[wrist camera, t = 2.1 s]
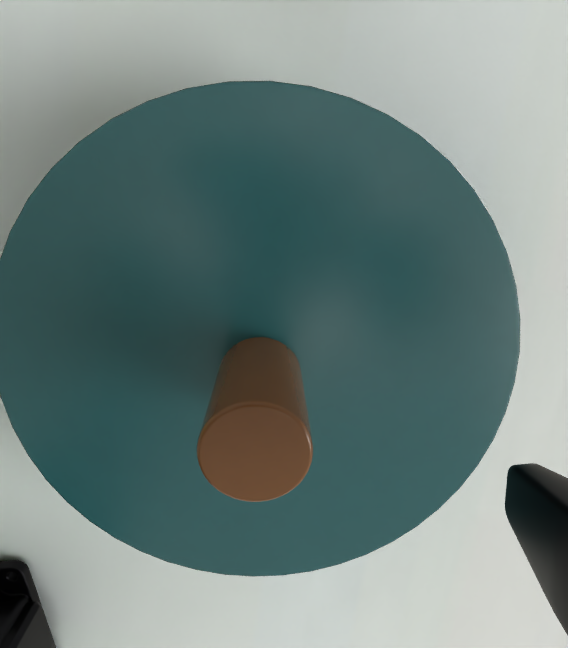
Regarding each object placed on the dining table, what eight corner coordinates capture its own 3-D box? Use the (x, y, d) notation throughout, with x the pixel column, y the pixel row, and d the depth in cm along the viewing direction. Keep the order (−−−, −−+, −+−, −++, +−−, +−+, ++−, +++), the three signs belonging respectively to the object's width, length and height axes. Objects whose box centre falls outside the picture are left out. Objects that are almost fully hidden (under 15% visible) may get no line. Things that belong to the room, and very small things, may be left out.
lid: (76, 568, 16) (-11, 737, 11) (-58, 117, 11) (-313, 58, 6) (487, 532, 16) (582, 684, 11) (521, 65, 11) (714, -34, 6)
